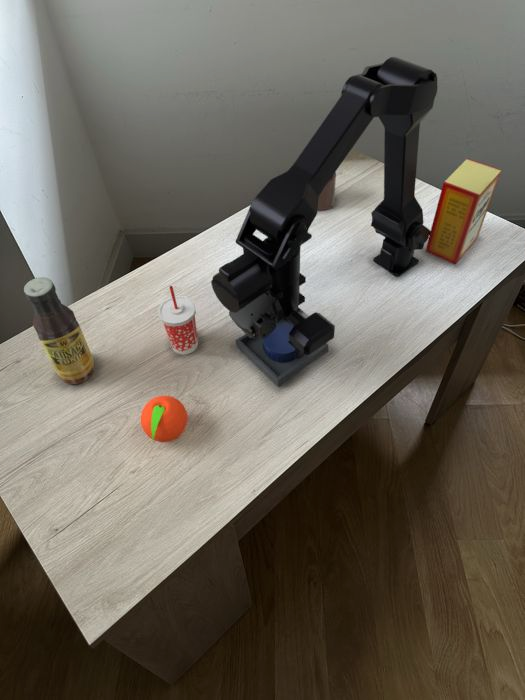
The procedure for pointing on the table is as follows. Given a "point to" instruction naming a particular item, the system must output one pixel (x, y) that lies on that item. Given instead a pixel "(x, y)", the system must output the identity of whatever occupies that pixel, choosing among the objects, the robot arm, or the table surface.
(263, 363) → the tray
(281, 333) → the lid
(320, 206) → the jar
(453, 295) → the table surface
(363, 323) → the table surface
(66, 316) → the sauce bottle
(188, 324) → the beverage cup
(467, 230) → the baking soda box
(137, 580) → the table surface
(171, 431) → the clementine
